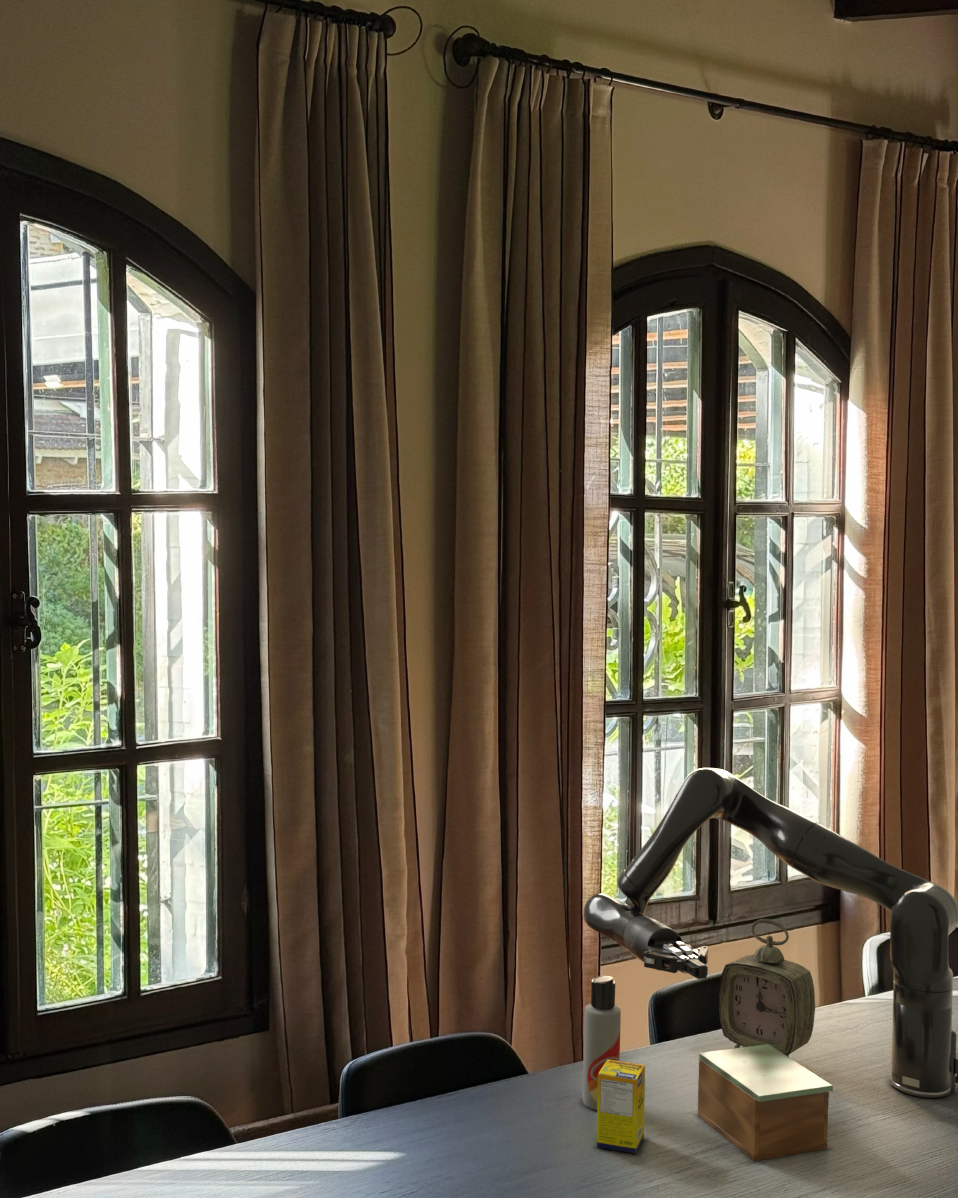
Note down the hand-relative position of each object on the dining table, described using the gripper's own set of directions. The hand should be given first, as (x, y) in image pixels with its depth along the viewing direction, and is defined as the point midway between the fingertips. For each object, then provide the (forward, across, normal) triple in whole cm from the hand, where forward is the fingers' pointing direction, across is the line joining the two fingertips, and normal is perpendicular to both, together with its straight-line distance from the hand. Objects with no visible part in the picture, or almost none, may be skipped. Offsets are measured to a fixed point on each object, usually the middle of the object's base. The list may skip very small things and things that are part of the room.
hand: (703, 972), depth 195 cm
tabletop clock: (-4, +16, +19) cm, 25 cm away
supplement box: (+14, -22, +19) cm, 32 cm away
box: (+17, 0, +19) cm, 25 cm away
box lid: (+18, 0, +10) cm, 20 cm away
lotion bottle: (+1, -19, +19) cm, 27 cm away
